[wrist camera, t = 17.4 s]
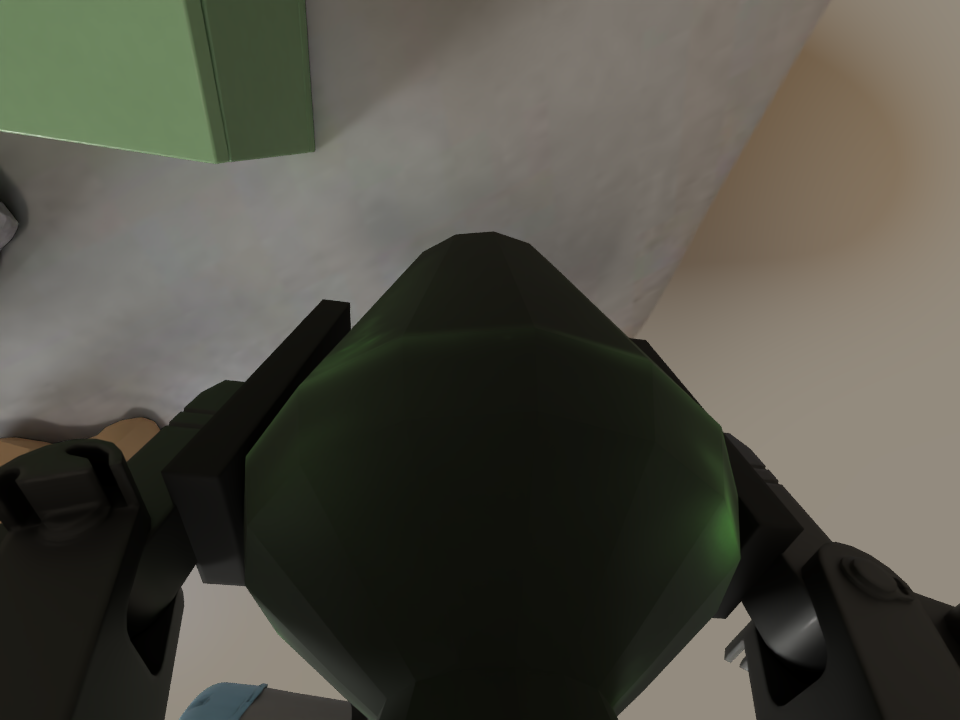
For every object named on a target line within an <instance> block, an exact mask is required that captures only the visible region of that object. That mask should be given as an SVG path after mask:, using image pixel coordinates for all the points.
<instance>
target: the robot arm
mask: <svg viewBox="0 0 960 720" xmlns="http://www.w3.org/2000/svg"><path fill="white" fill-rule="evenodd" d="M350 330H351V323H350V303H348V302H340V301H333V300H325V299H323V300H322V301H321V302H320V303H319V304H318V305H317V306H316V307H315V308H314V309H313V310H312V312H311V313H310V314H309V315H308V316H307V317H306V318H305V319H304V320H303V321H302V322H301V323H300V324H299V325H298V326H297V327H296V329H295V330H294V331H293V332H292V333H291V334H290V335H289V336H288V337H287V338H286V339H285V340H284V341H283V342H282V343H281V344H280V346H279V347H278V348H277V349H276V350H275V351H274V352H273V353H272V354H271V355H270V356H269V357H268V358H267V359H266V360H265V361H264V362H263V364H262V365H261V366H260V367H259V368H258V369H257V370H256V371H255V372H254V373H253V374H252V375H251V376H250V377H249V378H248V379H247V381H246V382H239V381H230V380H224V381H223V382H221V383H219V384H217V385H215V386H213V387H211V388H209V389H207V390H205V391H203V392H201V393H200V394H199V395H198V396H197V397H196V398H195V399H194V400H193V401H191V402H190V403H189V404H188V405H187V406H186V407H185V408H184V411H183V412H180V413H179V414H177V415H176V416H175V417H174V418H173V419H172V420H171V421H170V422H169V425H168V426H165V427H163V428H162V429H161V430H160V431H159V432H158V433H157V434H156V435H155V436H154V437H153V438H152V439H151V440H149V441H148V442H147V443H146V444H145V445H144V446H143V447H142V448H141V449H140V450H139V451H138V452H137V453H135V454H134V455H133V456H132V457H131V458H130V459H129V460H128V461H127V462H126V460H125V457H124V455H123V453H122V451H121V450H120V449H119V448H118V447H117V446H116V445H115V444H114V443H113V442H109V441H105V440H100V439H96V438H95V439H73V440H68V441H64V442H59V443H55V444H50V445H46V446H43V447H41V448H38V449H35V450H33V451H30V452H28V453H25V454H22V455H20V456H18V457H16V458H14V459H12V460H11V461H9V462H7V463H5V464H4V465H2V466H0V521H1V524H0V720H164V719H165V713H166V707H167V701H168V696H169V690H170V684H171V678H172V672H173V666H174V661H175V655H176V649H177V644H178V638H179V631H180V626H181V620H182V615H183V609H184V596H183V591H182V588H181V586H182V585H183V583H184V582H185V580H186V578H187V577H188V575H189V574H190V572H191V571H192V569H193V568H194V566H195V565H196V566H197V568H198V571H199V574H200V576H201V579H202V582H203V583H207V584H222V585H237V586H245V565H244V493H245V462H246V456H247V454H248V453H249V452H250V450H251V449H252V448H253V446H254V445H255V444H256V442H257V441H258V440H259V438H260V437H261V436H262V434H263V433H264V432H265V430H266V429H267V428H268V426H269V425H270V424H271V422H272V421H273V420H274V418H275V417H276V416H277V414H278V413H279V412H280V410H281V409H282V408H283V406H284V405H285V404H286V402H287V401H288V400H289V398H290V397H291V396H292V394H293V393H294V392H295V390H296V389H297V388H298V386H299V385H300V384H301V383H302V382H303V381H304V380H305V379H306V378H307V377H308V376H309V375H310V373H311V372H312V371H313V370H314V369H315V368H316V367H317V366H318V365H319V364H320V363H321V362H322V361H323V359H324V358H325V357H326V356H327V355H328V354H329V353H330V352H331V351H332V350H333V349H334V348H335V346H336V345H337V344H338V343H339V342H340V341H341V340H342V339H343V338H344V337H345V336H346V335H347V333H348V332H349V331H350ZM629 339H630V340H632V341H633V342H634V343H635V344H636V345H637V346H638V347H639V348H640V349H641V350H642V351H643V352H644V353H645V354H646V355H647V356H648V357H649V358H650V359H651V360H652V361H653V362H655V363H656V364H657V365H658V366H659V367H660V368H661V369H662V370H663V371H664V372H665V373H666V374H667V375H668V376H669V377H670V378H671V379H672V380H673V381H674V382H675V383H676V384H677V385H679V386H680V387H681V388H682V389H683V390H684V391H685V392H686V393H687V394H688V395H689V396H690V397H691V398H692V399H693V400H694V401H695V402H696V403H697V404H698V405H699V406H700V407H702V406H701V405H700V404H699V403H698V402H697V400H696V399H695V398H694V397H693V396H692V394H691V393H690V392H689V391H688V390H687V388H686V387H685V386H684V385H683V384H682V383H681V381H680V380H679V379H678V378H677V377H676V375H675V374H674V373H673V372H672V371H671V369H670V368H669V367H668V366H667V365H666V363H664V361H663V360H662V359H661V357H659V355H658V354H657V353H656V352H655V351H654V350H653V348H652V347H651V346H650V344H649V343H648V342H647V341H646V340H640V339H632V338H629ZM723 436H724V440H725V444H726V448H727V452H728V456H729V461H730V465H731V469H732V473H733V477H734V481H735V486H736V490H737V494H738V508H739V532H740V555H741V559H740V561H739V564H738V566H737V568H736V570H735V573H734V575H733V577H732V579H731V582H730V584H729V586H728V588H727V591H726V593H725V595H724V597H723V600H722V602H721V604H720V606H719V609H718V611H717V613H716V614H715V615H714V616H713V617H712V618H722V619H726V618H727V617H728V615H729V614H730V613H731V612H732V611H733V610H734V609H735V608H736V607H737V605H738V604H739V603H740V602H741V601H742V603H743V605H744V607H745V608H746V610H747V612H748V614H749V616H750V617H751V619H752V620H751V621H750V622H749V623H748V625H747V626H746V627H745V628H744V629H743V630H742V631H741V632H740V633H739V634H738V635H737V636H736V637H735V638H734V640H732V642H731V643H730V644H729V645H728V646H727V647H726V648H725V660H726V661H728V662H732V661H733V660H734V659H735V658H736V657H737V656H738V655H739V654H740V653H741V652H742V651H743V650H744V649H745V653H746V657H745V658H744V659H743V660H742V662H741V664H740V667H741V668H743V669H745V670H747V671H749V677H750V683H751V688H752V695H753V701H754V707H755V713H756V719H757V720H960V604H958V605H957V606H956V607H954V606H951V605H948V604H945V603H942V602H939V601H936V600H934V599H931V598H928V597H925V596H922V595H919V594H917V593H914V592H913V591H912V590H911V589H910V587H909V586H908V585H907V583H905V582H904V581H903V580H902V579H901V578H900V577H899V576H898V575H896V574H895V573H894V572H893V571H892V570H891V569H890V568H889V567H887V566H886V565H884V564H883V563H881V562H880V561H878V560H877V559H875V558H874V557H872V556H871V555H869V554H867V553H865V552H863V551H861V550H859V549H857V548H855V547H852V546H849V545H846V544H841V543H837V542H832V541H831V540H830V539H829V538H828V536H827V535H826V534H825V533H824V532H823V531H822V530H821V529H820V528H819V526H818V525H817V524H816V523H815V522H814V521H813V520H812V518H811V517H810V516H809V515H808V514H807V513H806V512H805V510H804V509H803V508H802V507H801V506H800V505H799V504H798V502H797V501H796V500H795V499H794V498H793V497H792V496H791V494H790V493H789V492H788V491H787V490H786V489H785V488H784V487H783V485H780V484H778V480H777V479H776V477H775V476H774V475H773V474H772V473H771V472H770V471H769V470H766V469H765V465H764V464H763V463H762V462H761V460H760V459H759V458H758V457H757V456H756V455H755V454H754V453H753V451H752V450H751V449H750V448H748V447H747V446H746V445H744V444H743V443H742V442H740V441H739V440H738V439H736V438H735V437H734V436H732V435H731V434H729V433H723ZM267 686H268V684H261V685H259V686H256V685H247V684H237V683H228V682H226V683H225V682H224V683H218V684H215V685H212V686H210V687H209V688H207V689H206V690H204V691H203V692H202V693H200V694H199V695H198V696H197V697H196V699H194V701H193V702H192V703H191V704H190V705H189V706H188V708H187V709H186V711H185V712H184V713H183V715H182V716H181V717H180V719H179V720H369V719H368V718H367V717H366V716H365V715H364V714H363V713H361V712H360V711H359V710H358V709H357V708H356V707H354V706H353V705H352V704H351V703H350V702H349V701H342V700H336V699H330V698H324V697H318V696H311V695H305V694H299V693H293V692H288V691H282V690H277V689H271V688H267Z"/></svg>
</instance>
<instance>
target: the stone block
mask: <svg viewBox="0 0 960 720" xmlns="http://www.w3.org/2000/svg"><path fill="white" fill-rule="evenodd" d="M17 227H18V222H17V221H16V219H15V218H14V217H13V215H12V214H11V213H10V211H9V210H8V209H7V208H6V206H5V205H4V204H3V203H2V202H1V201H0V251H1V249H2V248H3V247H4V246H5V245H6V244H7V243H8V242H9V241H10V240H11V239H12V237H13V236H14V234H15V232H16V230H17Z"/></svg>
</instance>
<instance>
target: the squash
mask: <svg viewBox="0 0 960 720" xmlns="http://www.w3.org/2000/svg"><path fill="white" fill-rule="evenodd" d="M159 431H160V429H159V428H158V426H157V425H156V423H155V422H154V421H152V420H149V419H146V418H143V417H139V418H133V419H126V420H121V421H119V422H117V423H114V424H112V425H110V426H107V427H106V428H104V429H103V430H102V431H101V432H100V433H99V434H98V435H96V436H94V437H91V438H88V439H95V438H96V439H100V440H105V441H109V442H113V443H114V444H115V445H116V446H117V447H118V448H119V449H120V450H121V451H122V453H123V455H124V457H125V460H126V462H127V461H128V460H129V459H130V458H131V457H132V456H133V455H134V454H135V453H137V452H138V451H139V450H140V449H141V448H142V447H143V446H144V445H145V444H146V443H147V442H148V441H149V440H151V439H152V438H153V437H154V436H155V435H156V434H157V433H158V432H159ZM46 445H50V443H47V442H43V441H36V440H29V439H23V438H16V437H10V438H1V439H0V466H2V465H4V464H5V463H7V462H9V461H11V460H12V459H14V458H16V457H18V456H20V455H22V454H25V453H28V452H30V451H33V450H35V449H38V448H41V447H43V446H46ZM0 524H1V521H0Z"/></svg>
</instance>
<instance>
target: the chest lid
mask: <svg viewBox="0 0 960 720" xmlns="http://www.w3.org/2000/svg"><path fill="white" fill-rule="evenodd" d="M0 131H1V132H8V133H14V134H21V135H27V136H34V137H41V138H47V139H54V140H60V141H67V142H74V143H80V144H87V145H94V146H100V147H107V148H113V149H120V150H127V151H133V152H140V153H146V154H153V155H160V156H166V157H173V158H179V159H186V160H193V161H199V162H206V163H213V164H219V163H225V162H229V155H228V149H227V144H226V139H225V133H224V128H223V122H222V117H221V112H220V106H219V101H218V95H217V90H216V84H215V79H214V74H213V68H212V63H211V57H210V52H209V47H208V41H207V36H206V30H205V25H204V19H203V14H202V9H201V3H200V0H0Z"/></svg>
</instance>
